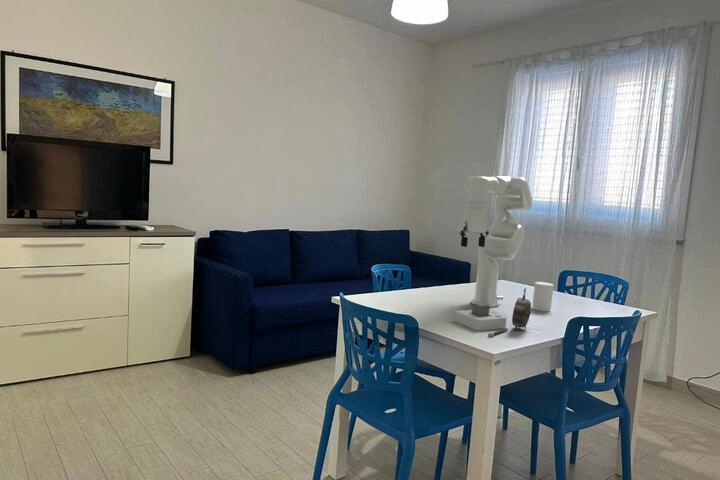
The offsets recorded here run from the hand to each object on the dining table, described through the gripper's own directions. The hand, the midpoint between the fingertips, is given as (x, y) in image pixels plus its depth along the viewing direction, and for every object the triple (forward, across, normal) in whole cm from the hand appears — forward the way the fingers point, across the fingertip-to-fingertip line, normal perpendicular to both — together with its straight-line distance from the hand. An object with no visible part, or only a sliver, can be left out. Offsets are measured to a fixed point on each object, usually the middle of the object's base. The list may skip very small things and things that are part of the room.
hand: (472, 246), depth 221 cm
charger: (+28, +9, +18) cm, 35 cm away
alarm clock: (+28, -3, +28) cm, 40 cm away
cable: (+28, +10, +30) cm, 42 cm away
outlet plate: (+28, +9, +18) cm, 35 cm away
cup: (+29, -42, +4) cm, 51 cm away
